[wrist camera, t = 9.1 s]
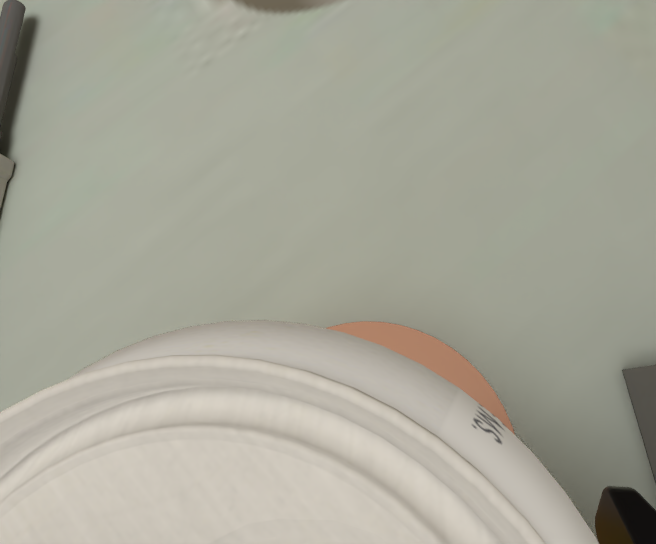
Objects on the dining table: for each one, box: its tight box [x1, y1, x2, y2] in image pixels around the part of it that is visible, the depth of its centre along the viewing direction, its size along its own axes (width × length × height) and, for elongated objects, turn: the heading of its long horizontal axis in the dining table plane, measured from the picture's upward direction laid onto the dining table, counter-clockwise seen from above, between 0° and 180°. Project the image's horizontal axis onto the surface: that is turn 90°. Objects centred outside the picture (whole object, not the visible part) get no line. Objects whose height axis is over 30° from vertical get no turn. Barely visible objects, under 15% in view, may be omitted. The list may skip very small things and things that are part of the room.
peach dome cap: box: [326, 322, 515, 435], centre depth 17 cm, size 10×10×1 cm
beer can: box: [0, 320, 599, 544], centre depth 10 cm, size 6×6×15 cm
